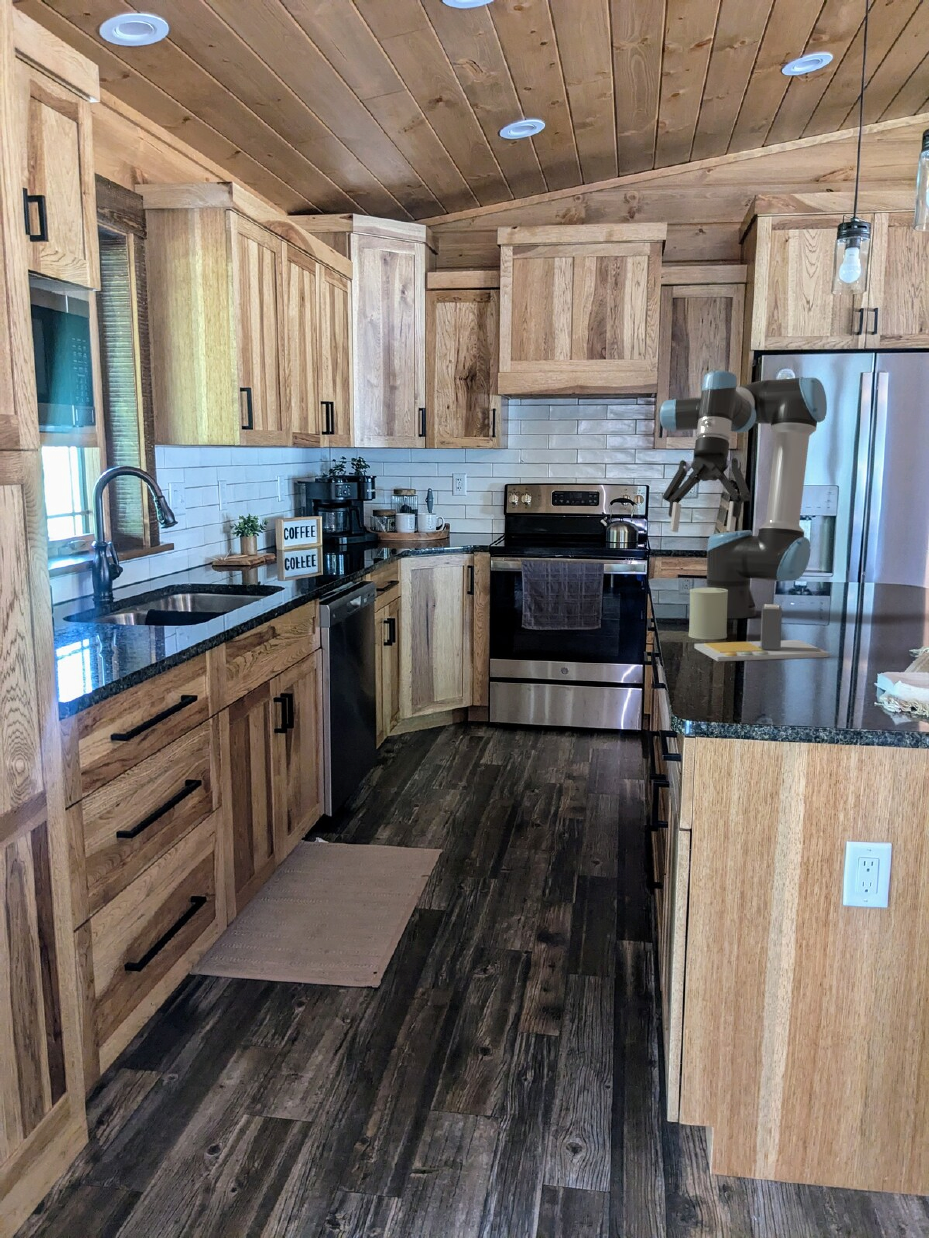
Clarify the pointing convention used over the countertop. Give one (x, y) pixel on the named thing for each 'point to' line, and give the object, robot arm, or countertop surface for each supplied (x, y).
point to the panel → (759, 651)
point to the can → (708, 613)
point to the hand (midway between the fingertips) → (701, 531)
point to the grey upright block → (771, 626)
